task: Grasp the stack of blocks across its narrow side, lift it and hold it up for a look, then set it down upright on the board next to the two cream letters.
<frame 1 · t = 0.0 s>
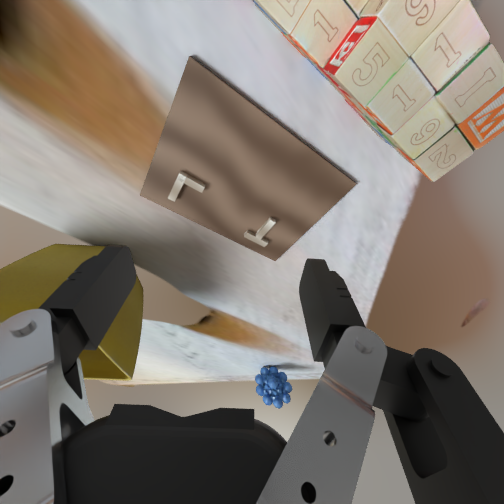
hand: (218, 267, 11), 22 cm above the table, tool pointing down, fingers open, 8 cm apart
stack of blocks: (337, 34, 22), on the table
grapes: (272, 364, 77), on the table
code board: (245, 187, 32), on the table
flower pot: (102, 267, 45), on the table
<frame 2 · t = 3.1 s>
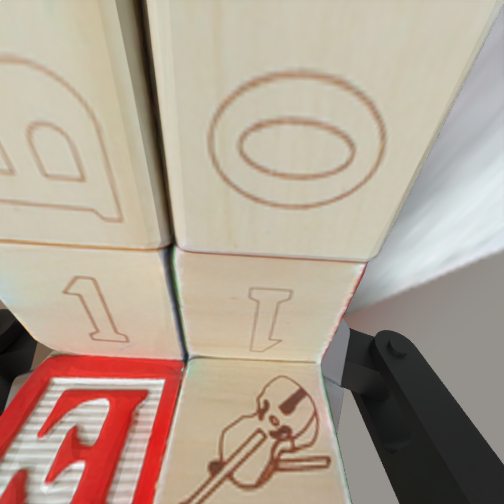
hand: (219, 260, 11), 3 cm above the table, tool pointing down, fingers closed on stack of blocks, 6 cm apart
stack of blocks: (226, 220, 14), on the table, touching gripper
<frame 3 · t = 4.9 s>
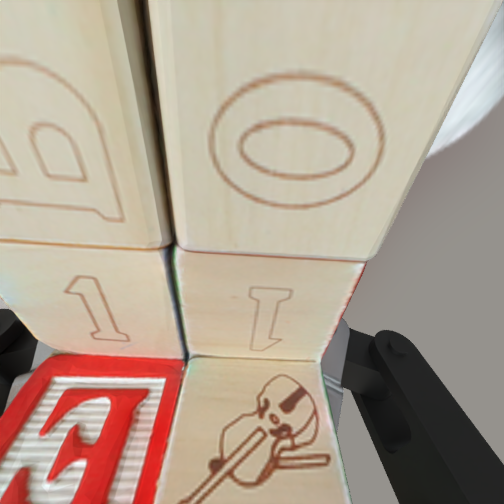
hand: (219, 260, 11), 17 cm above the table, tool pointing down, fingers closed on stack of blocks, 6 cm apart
stack of blocks: (226, 220, 14), point 13 cm above the table, touching gripper
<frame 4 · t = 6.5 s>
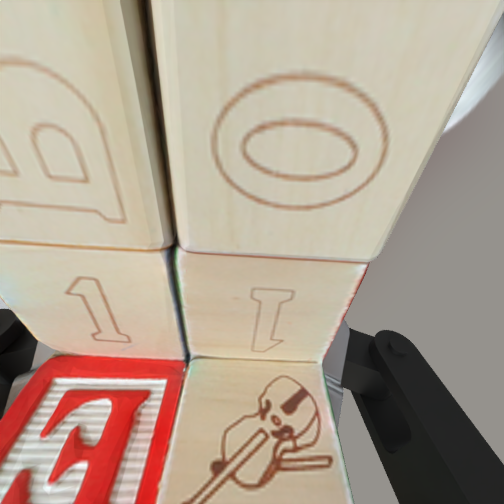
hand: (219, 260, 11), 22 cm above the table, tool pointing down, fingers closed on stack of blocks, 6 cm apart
stack of blocks: (227, 220, 14), point 18 cm above the table, touching gripper
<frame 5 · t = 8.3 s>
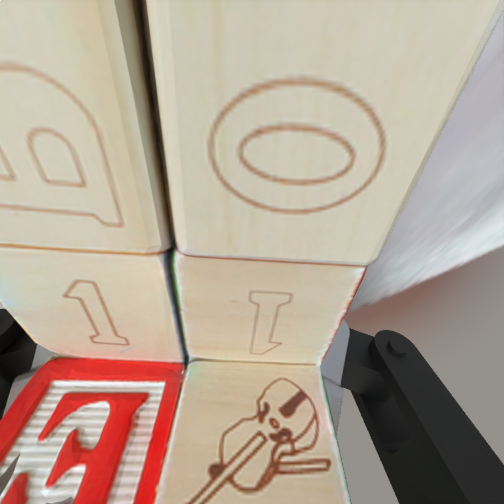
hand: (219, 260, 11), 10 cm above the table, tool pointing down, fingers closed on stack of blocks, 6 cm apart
stack of blocks: (226, 221, 14), point 7 cm above the table, touching gripper
when the fingers open (4 cm above the table, at t = 9.8 s): stack of blocks stays where it is, resting on code board.
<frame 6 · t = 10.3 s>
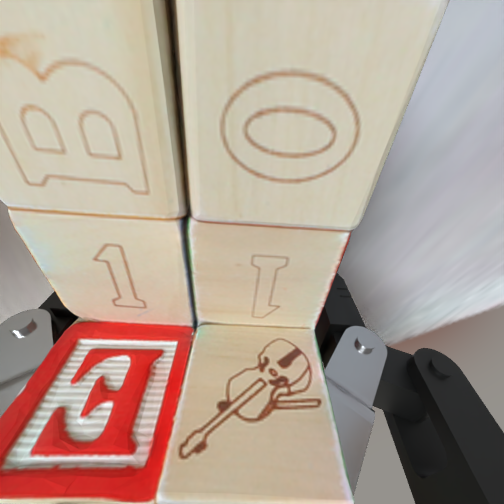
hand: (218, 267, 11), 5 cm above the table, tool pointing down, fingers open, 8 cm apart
stack of blocks: (228, 213, 14), resting on code board
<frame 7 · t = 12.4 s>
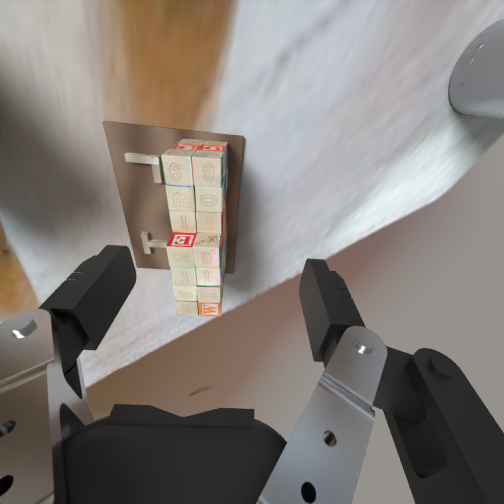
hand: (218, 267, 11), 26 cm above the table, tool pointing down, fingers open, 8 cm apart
stack of blocks: (207, 211, 37), resting on code board
code board: (182, 211, 38), on the table
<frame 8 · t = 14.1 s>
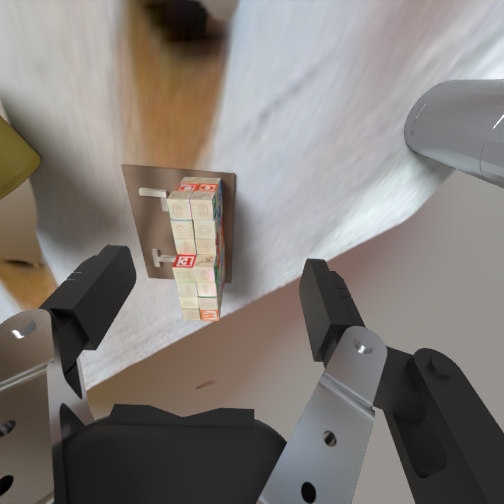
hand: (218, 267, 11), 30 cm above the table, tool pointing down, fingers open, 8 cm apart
stack of blocks: (207, 232, 44), resting on code board
code board: (185, 232, 45), on the table
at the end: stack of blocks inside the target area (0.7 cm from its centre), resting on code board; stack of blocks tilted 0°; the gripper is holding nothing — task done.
